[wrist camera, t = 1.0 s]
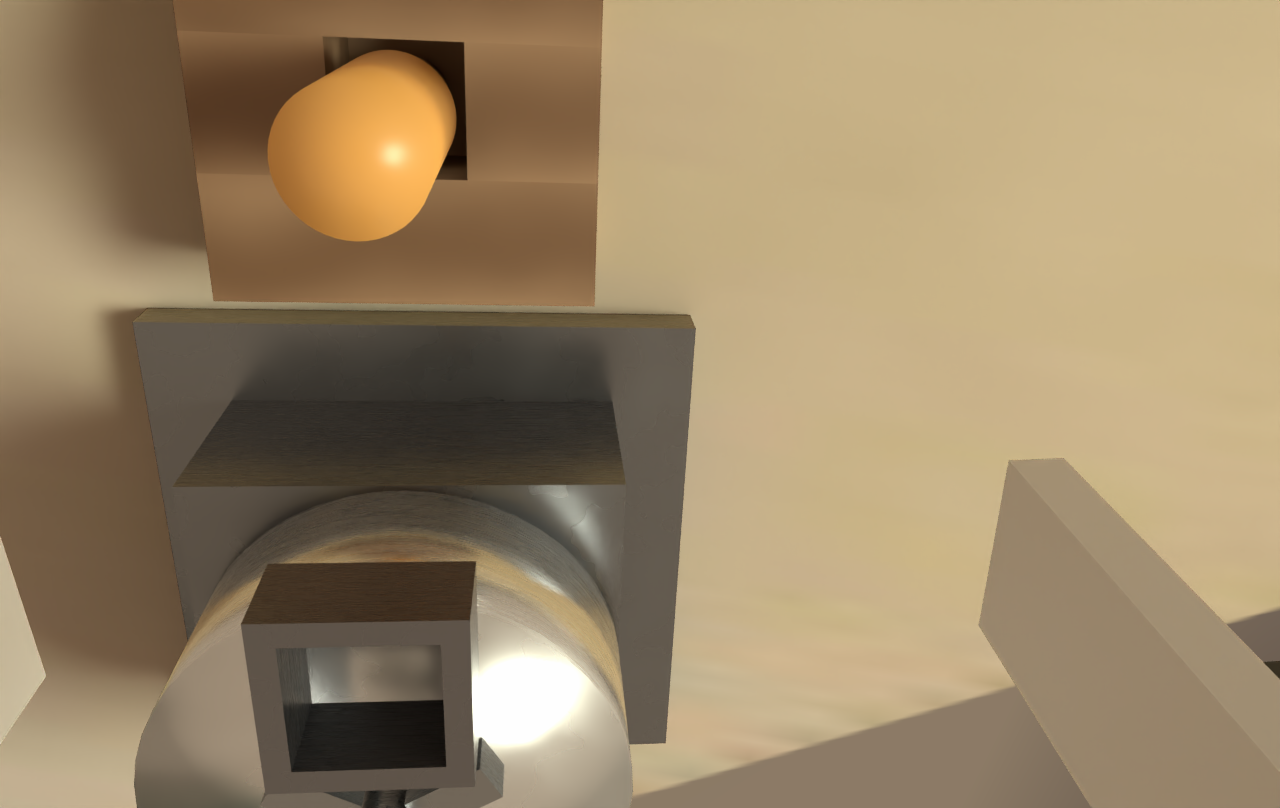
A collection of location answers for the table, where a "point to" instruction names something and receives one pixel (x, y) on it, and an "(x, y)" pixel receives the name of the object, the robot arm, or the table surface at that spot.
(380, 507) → the chuck
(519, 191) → the wooden hole block
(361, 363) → the stand
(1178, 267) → the table surface
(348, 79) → the orange rounded rod
